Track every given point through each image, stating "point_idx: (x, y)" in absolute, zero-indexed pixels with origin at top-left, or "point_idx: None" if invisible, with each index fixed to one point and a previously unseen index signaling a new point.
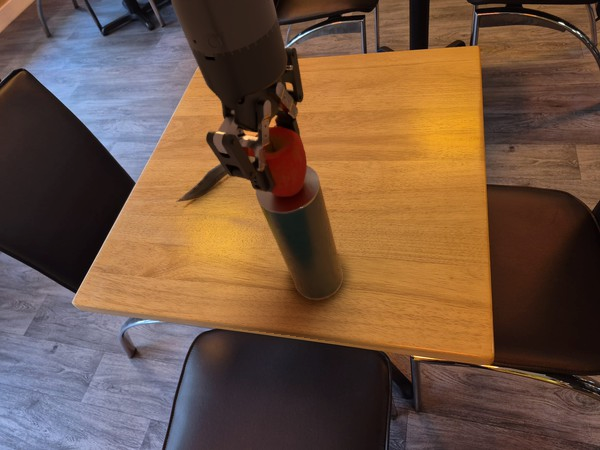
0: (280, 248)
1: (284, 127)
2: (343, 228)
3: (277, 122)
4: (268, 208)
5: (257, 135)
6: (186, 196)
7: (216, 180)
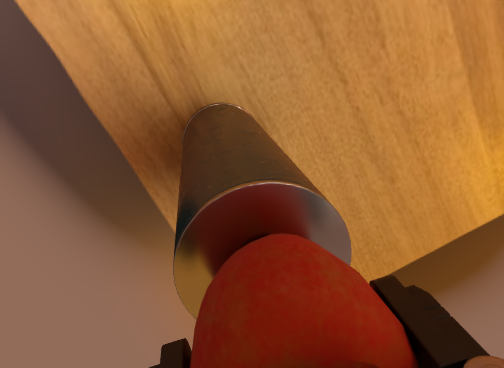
0: (180, 179)
1: (419, 365)
2: (319, 118)
3: (431, 364)
4: (177, 278)
5: (330, 355)
6: None
7: None
